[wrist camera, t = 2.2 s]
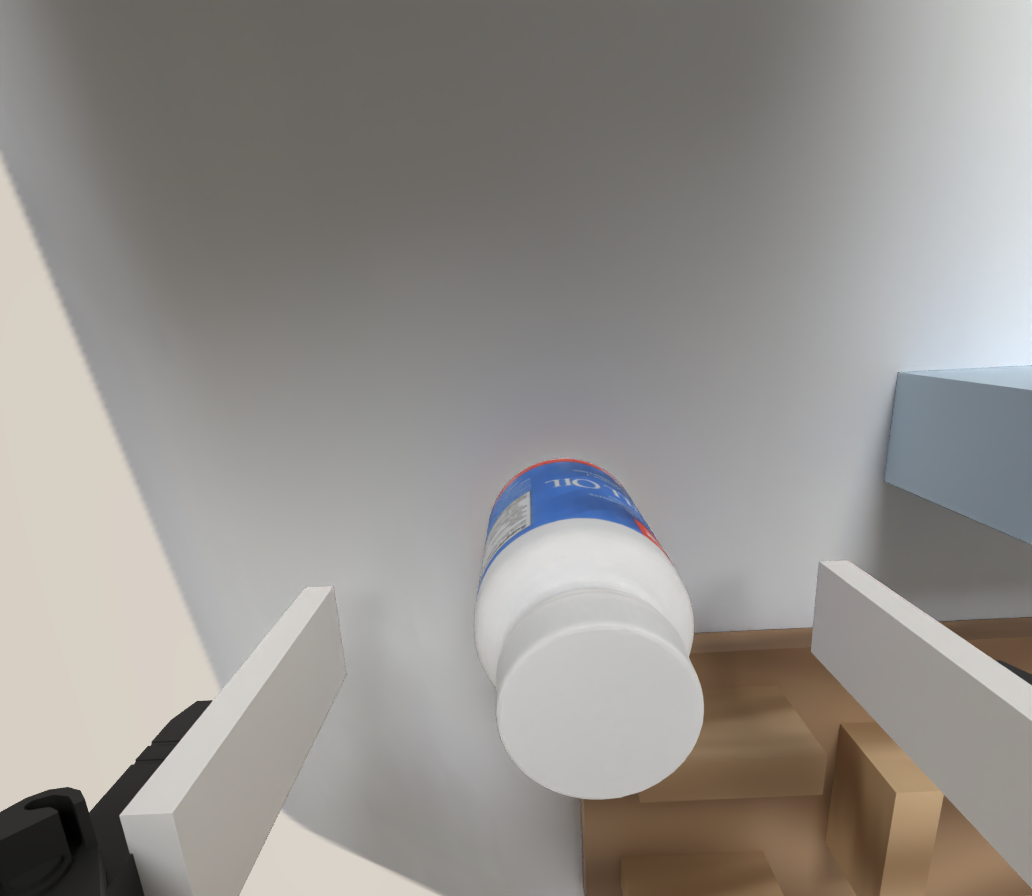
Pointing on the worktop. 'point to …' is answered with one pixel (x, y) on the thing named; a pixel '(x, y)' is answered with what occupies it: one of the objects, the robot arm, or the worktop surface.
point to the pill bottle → (585, 635)
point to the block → (966, 443)
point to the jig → (795, 790)
